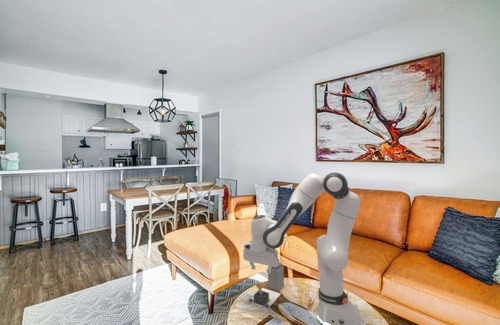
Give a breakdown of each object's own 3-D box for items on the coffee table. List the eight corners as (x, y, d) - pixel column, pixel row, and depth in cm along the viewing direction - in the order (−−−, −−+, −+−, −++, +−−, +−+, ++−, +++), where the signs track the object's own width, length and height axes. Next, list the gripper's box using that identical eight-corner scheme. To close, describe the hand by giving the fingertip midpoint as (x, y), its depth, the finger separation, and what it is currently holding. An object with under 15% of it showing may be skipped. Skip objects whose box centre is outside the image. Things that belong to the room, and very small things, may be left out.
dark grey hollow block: (268, 299, 138) (268, 292, 138) (263, 305, 133) (263, 298, 133) (259, 296, 141) (259, 289, 141) (253, 302, 136) (253, 295, 136)
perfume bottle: (278, 293, 147) (277, 263, 146) (268, 290, 151) (267, 260, 150) (283, 288, 152) (283, 259, 151) (274, 285, 156) (273, 256, 155)
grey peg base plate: (281, 296, 144) (280, 285, 144) (267, 311, 131) (267, 299, 130) (262, 290, 151) (262, 279, 150) (248, 304, 137) (247, 292, 137)
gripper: (280, 247, 133) (281, 272, 133) (247, 240, 144) (248, 264, 144) (274, 251, 127) (275, 278, 128) (241, 244, 138) (242, 269, 139)
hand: (261, 271), depth 136 cm, fingers open, 8 cm apart
